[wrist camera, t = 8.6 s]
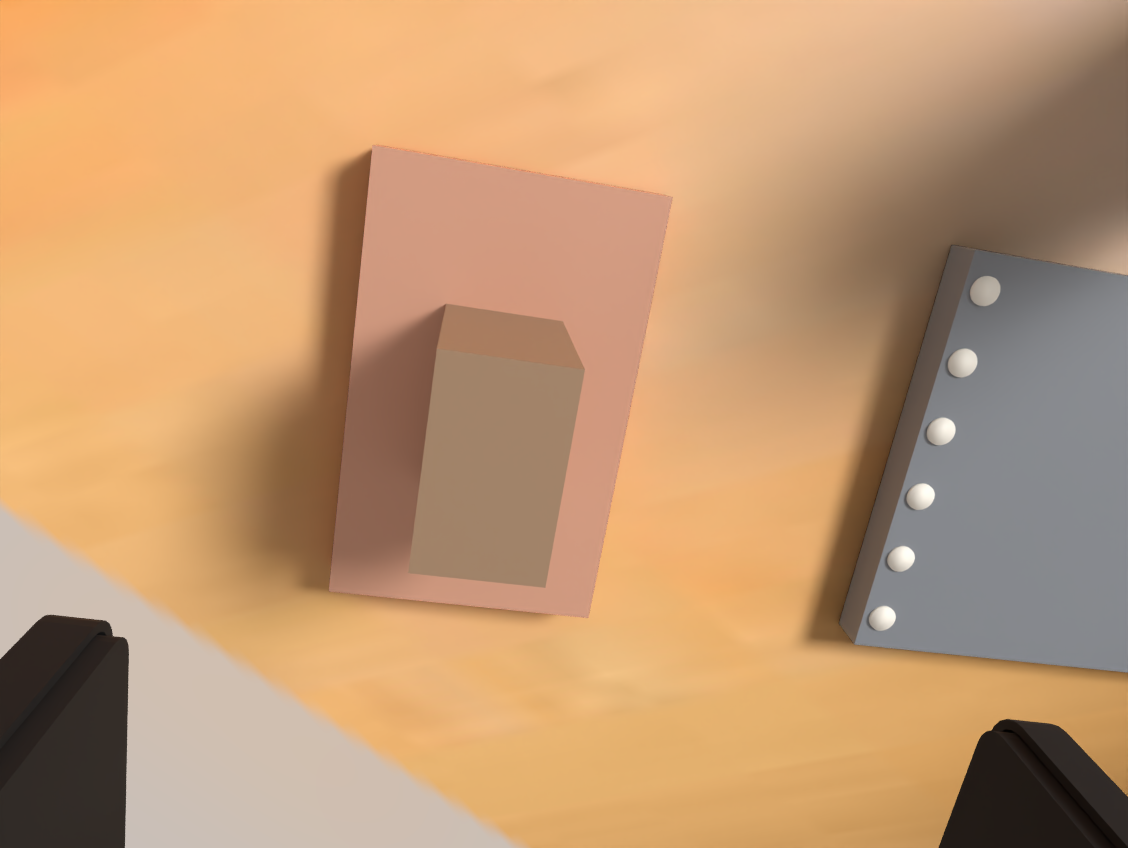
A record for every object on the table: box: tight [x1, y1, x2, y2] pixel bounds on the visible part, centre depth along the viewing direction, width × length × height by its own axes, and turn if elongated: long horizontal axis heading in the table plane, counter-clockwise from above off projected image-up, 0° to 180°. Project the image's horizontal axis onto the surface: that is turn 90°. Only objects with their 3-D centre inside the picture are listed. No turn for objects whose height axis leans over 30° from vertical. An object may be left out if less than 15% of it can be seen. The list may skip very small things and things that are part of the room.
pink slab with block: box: [329, 145, 673, 618], centre depth 21 cm, size 7×12×6 cm, turn 171°
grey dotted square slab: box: [839, 245, 1128, 672], centre depth 26 cm, size 12×12×1 cm
